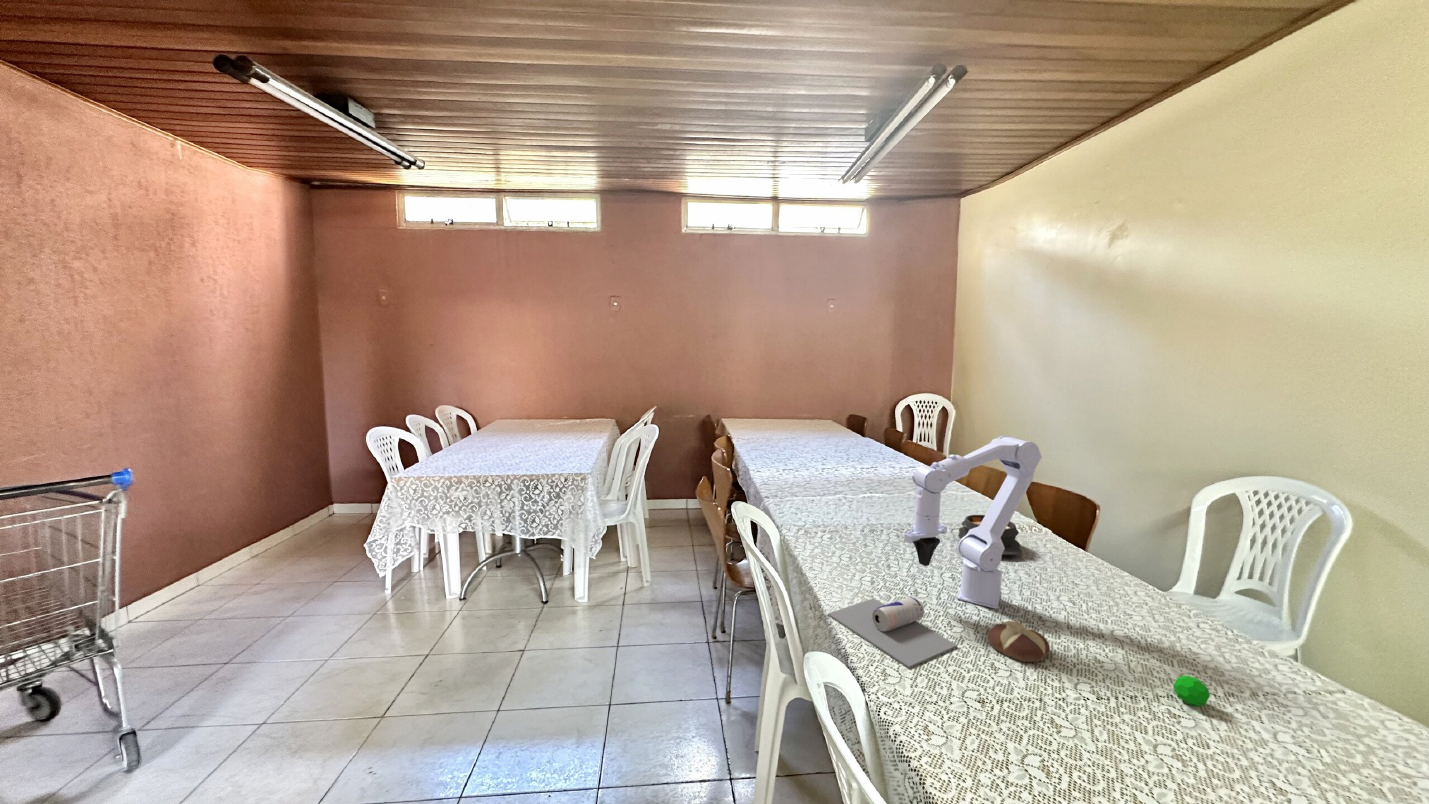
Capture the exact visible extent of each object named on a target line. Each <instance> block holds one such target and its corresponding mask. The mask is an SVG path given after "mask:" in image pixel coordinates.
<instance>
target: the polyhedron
mask: <svg viewBox="0 0 1429 804" xmlns="http://www.w3.org/2000/svg"><path fill="white" fill-rule="evenodd" d="M1173 690H1174V692H1175V695H1176V696H1177V697H1178V698H1179V699H1180V700H1182V701H1183V702H1184V703H1186V704H1189V705H1191V706H1196V707H1200V706H1205V705H1206V704H1207V702H1208V700H1209V699H1210V696H1211V694H1210V690H1209V688H1208V687H1207V686H1206V685H1205V684H1204V683H1203V682H1202V681H1201V680H1200V679H1199V678H1197V677H1193V676H1191V675H1182V676H1181V675H1180V676H1178V677H1177V678H1176V680H1175V681H1174V683H1173Z"/></svg>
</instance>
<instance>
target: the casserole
mask: <svg viewBox="0 0 1429 804" xmlns="http://www.w3.org/2000/svg"><path fill="white" fill-rule="evenodd" d="M985 515H986V514H971V515H967V516H966V517H965V519H964V520H963V521H962V522H961V525H962V527H960V528H958V532H959V533H958V538H959V539H960V540H961V539H962V538H963V537H964V536H966V535H967V533H968V532H969V530H970V529H973V528H976V527H979V526H980V524H981V522H982V520H983V518H984V517H985ZM1019 534H1020V533H1019V530H1018V529H1017V526H1016V524H1015V523H1014V522H1012V521H1011V520H1010V521H1009V523H1008V525H1007V527H1006V528H1005V530H1004V532H1003V534H1002V536H1001V541H1002V543H1003V545H1004V548H1005V549H1004V551H1003V553H1002V556H1018V555H1021V554H1023V551H1022V550H1021V544H1020V542H1019V541H1018V540H1017V539H1016V536H1019ZM982 542H984V543H986V544H987V542H986V541H982Z"/></svg>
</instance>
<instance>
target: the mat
mask: <svg viewBox="0 0 1429 804" xmlns="http://www.w3.org/2000/svg"><path fill="white" fill-rule="evenodd" d="M884 605H886V604H885V603H883V602H881V601H879V600H878V599H876V598H871V599H867V600H864V601H862V602H858V603H855V604H851V605H849V606H845V607H842V608H840V609H838V610H834V611H832V612H828V613H827V616H828V617H830V618H831V619H833V620H834V621H836V622H837V623H838V624H841V625H842V626H844V627H845V628H846V629H847V630H849V631H851V632H852V633H854V634H856V635H857V636H858V637H860V638H861V639H863V640H864V641H866V642H868V643H869V644H871V645H872V646H873V647H875V648H877V649H878V650H880V651H881V652H882V653H884V654H885V655H887V656H889V657H890V658H891V659H893V660H895V661H896V662H897V663H899V664H901V665H902V666H904V667H905V668H907V669H908V670H909V669H912V668H913V667H916V666H918V665H920V664H922V663H925V662H928V661H929V660H932V659H933V658H937V657H939V656H941V655H943V654H944V653H945V654H946V653H947V652H949V651H952V650H955V649H956V648H957V649H958V644H956V643H955V642H953V641H951V640H950V639H947V637H944V636H942V635H940V634H938V633H937V632H936V631H933V630H932V629H929V628H928V627H926V626H924V625H922V624H921V623H919V622H918V621H915V622H912V623H910V624H907V625H904V626H901V627H898V628H896V629H893V630H890V631H880V630H879V629H878V628H877V627H876V626H875V624H874V622H873V619H872V613H873V611H874V610H875V609H876V608H878V607H880V606H884Z"/></svg>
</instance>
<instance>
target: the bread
mask: <svg viewBox="0 0 1429 804" xmlns="http://www.w3.org/2000/svg"><path fill="white" fill-rule="evenodd" d="M987 634H988V635H987V641H988V643H989V644H990V646H991V647H992V648H993V649H994V650H995V651H997V652H999V653H1002V654H1003V655H1005V656H1007V657H1009V658H1011V659H1015V660H1017V661H1019V662H1024V663H1037V662H1039V661H1041V660H1043V659H1044V658H1045V657H1047V656H1048V655H1049V654H1050V649H1051V648H1050V644H1049V641H1048V640H1047V638H1046V637H1045V636H1044V635H1043V634H1041V633H1040V632H1038V631H1036V630H1034V629H1028V628H1027V627H1026V626H1025V625H1024V624H1023V623H1020V622H1019V621H1013V620H1011V621H1010V620H1007V621H1004V622H1002V623H996V624H994V625H993V626H992V627H991V628H990V630H989V631H988V633H987Z"/></svg>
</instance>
